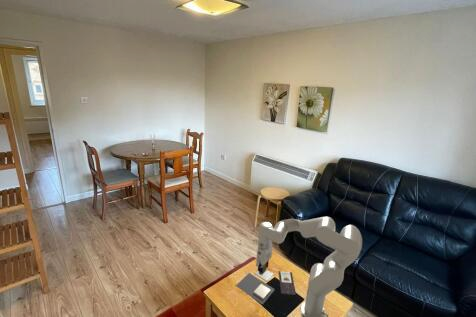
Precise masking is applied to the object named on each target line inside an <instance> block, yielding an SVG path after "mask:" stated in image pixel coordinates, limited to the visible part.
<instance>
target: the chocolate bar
mask: <svg viewBox="0 0 476 317" xmlns="http://www.w3.org/2000/svg"><path fill="white" fill-rule="evenodd" d="M278 278H279V287H280V294H282V295H290V296H291V295H292V296H297V293H296V287H295V281H294V277H293V272H292V271H279V270H278Z"/></svg>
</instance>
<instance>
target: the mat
mask: <svg viewBox="0 0 476 317" xmlns="http://www.w3.org/2000/svg"><path fill="white" fill-rule="evenodd" d="M260 284H263V285H264V286H266V287H267V288H269V289H270V290H271V291H270V292H269V294H268V295H267V296H266V297H265V298H264V299H262V298H260V297H259V296H258V295H256V294H255V293H254V291H255V290H256V289H257V288H258V287H259V286H260ZM235 286H236V287H237V288H238V289H239V290H241V291H243V292H244V293H245V294H247V295H248V296H249V297H251V298H253V299H254V300H255V301H257V302H258V303H260V304H261V305H264V303H266V301H267V300H268V299H269V297H270V296H271V295H272V294H273V293H274V292H275V288H273V287H272V286H270V285H269V284H268V283H265V282H264V281H263V280H261V279H259V278H258V277H256V276H255V275H254V274H252V273H251V272H249V273H247V274H246V275H245V276H244V277H243V278H242V279H241V280H240V281H239V282H238V283H237V284H236V285H235Z"/></svg>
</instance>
